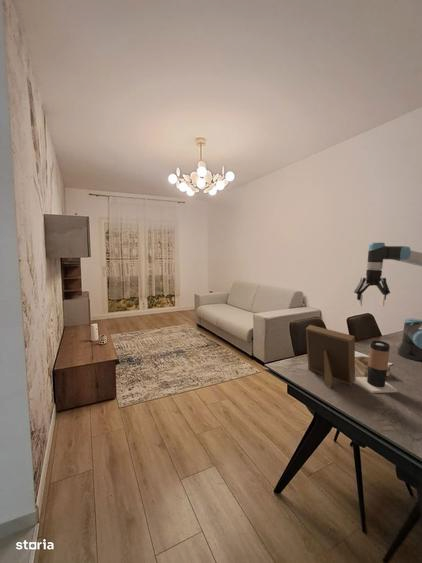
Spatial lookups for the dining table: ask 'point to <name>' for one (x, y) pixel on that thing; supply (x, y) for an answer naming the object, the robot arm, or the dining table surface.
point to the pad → (376, 389)
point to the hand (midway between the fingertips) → (370, 305)
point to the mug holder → (360, 365)
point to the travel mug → (378, 363)
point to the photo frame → (331, 354)
